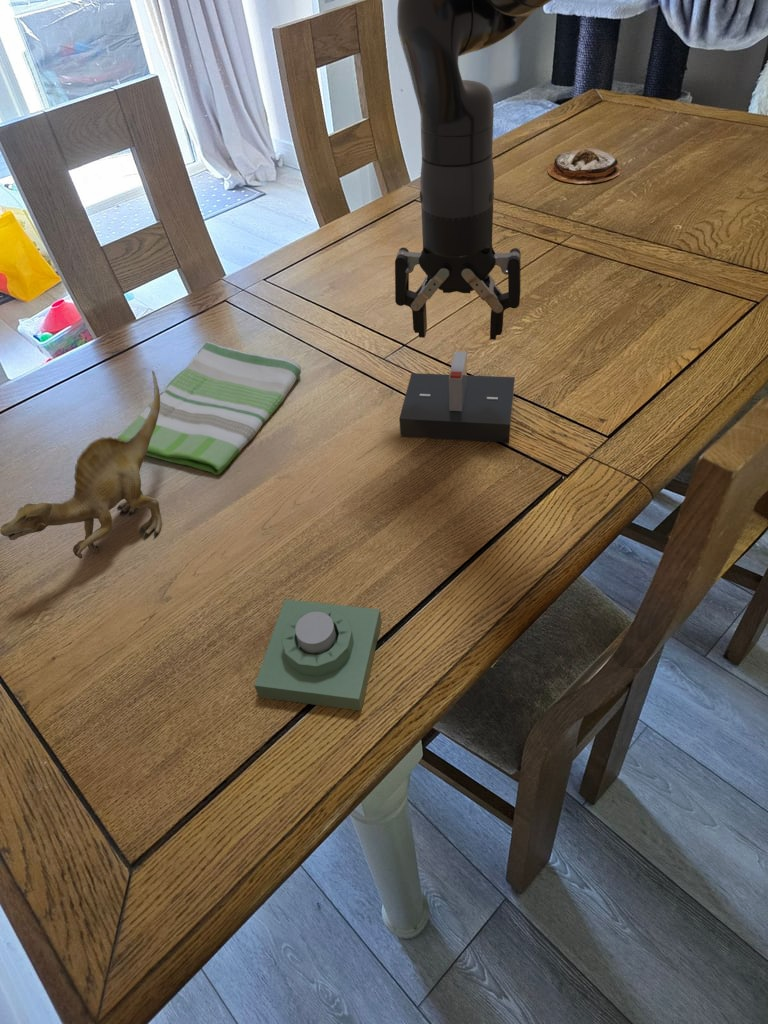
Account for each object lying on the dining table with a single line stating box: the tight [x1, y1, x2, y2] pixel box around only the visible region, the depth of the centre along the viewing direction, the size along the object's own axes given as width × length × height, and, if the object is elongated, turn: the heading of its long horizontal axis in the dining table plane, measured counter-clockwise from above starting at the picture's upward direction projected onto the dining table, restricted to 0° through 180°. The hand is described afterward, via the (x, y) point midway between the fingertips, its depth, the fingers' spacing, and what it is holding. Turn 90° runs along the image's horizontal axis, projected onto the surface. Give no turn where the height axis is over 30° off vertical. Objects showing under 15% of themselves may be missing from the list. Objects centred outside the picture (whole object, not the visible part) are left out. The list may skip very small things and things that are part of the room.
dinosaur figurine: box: [0, 370, 163, 559], centre depth 79 cm, size 8×26×13 cm, turn 155°
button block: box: [254, 598, 383, 712], centre depth 67 cm, size 10×10×4 cm
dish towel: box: [117, 340, 302, 476], centre depth 97 cm, size 17×23×4 cm
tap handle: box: [449, 350, 468, 411], centre depth 89 cm, size 6×2×5 cm, turn 169°
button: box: [295, 612, 336, 654], centre depth 65 cm, size 4×4×2 cm
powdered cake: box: [547, 147, 622, 185], centre depth 144 cm, size 15×15×4 cm
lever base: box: [398, 372, 516, 444], centre depth 92 cm, size 14×10×3 cm
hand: (457, 335), depth 84 cm, fingers open, 8 cm apart
